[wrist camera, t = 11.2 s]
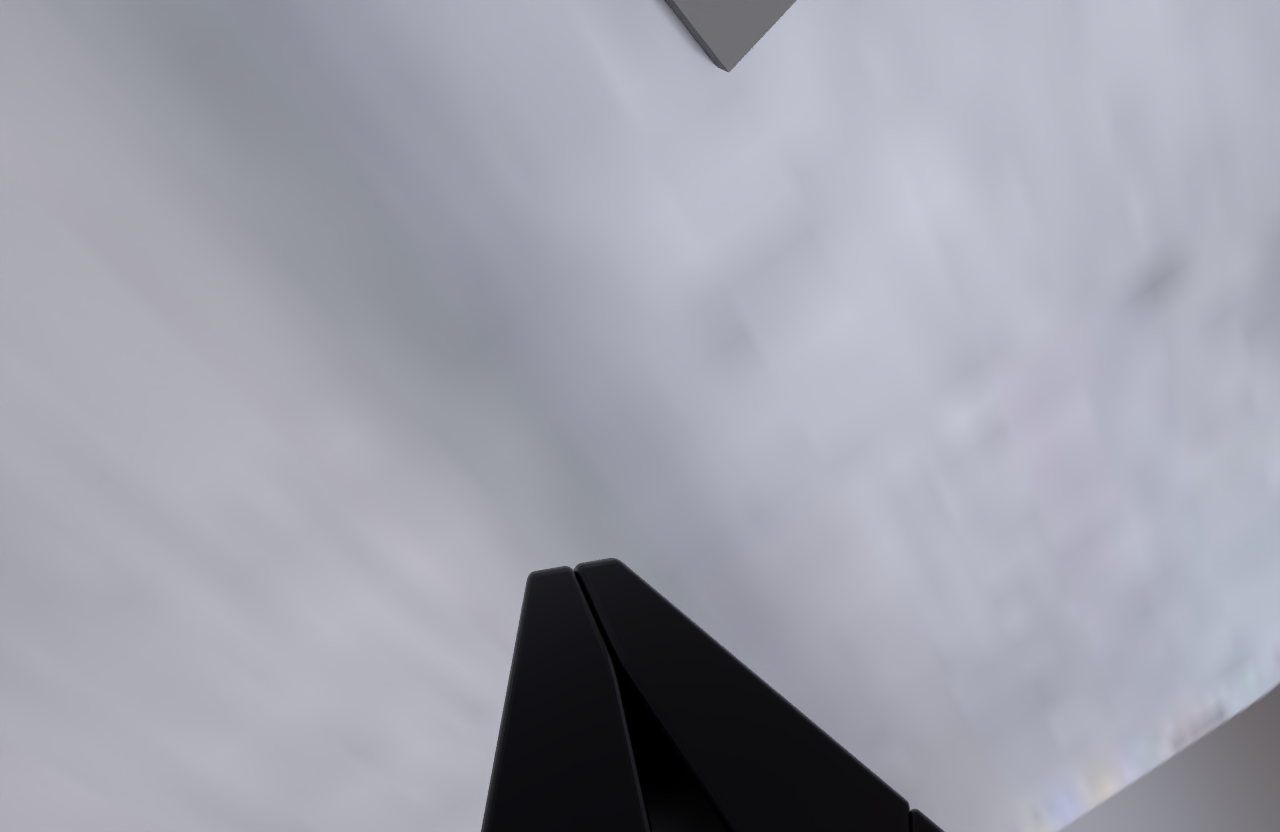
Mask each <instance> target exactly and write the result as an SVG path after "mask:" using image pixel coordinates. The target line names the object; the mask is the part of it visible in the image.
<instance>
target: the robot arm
mask: <svg viewBox="0 0 1280 832" xmlns="http://www.w3.org/2000/svg"><path fill="white" fill-rule="evenodd" d="M481 832H944V831H943V830H942V829H941V828H940V827H938V826H937V825H936V824H935V823H934V822H932V821H931V820H930V819H929V818H928V817H926V816H925V815H924V814H923V813H922V812H920V811H919V810H918V809H912V810H911V811H910V809H909V803H908V801H907V800H906V799H904V798H903V797H902V796H901V795H900V794H898V793H897V792H896V791H895V790H894V789H892V788H891V787H890V786H889V785H888V784H886V783H885V782H884V781H883V780H882V779H881V778H879V777H878V776H877V775H876V774H875V773H873V772H872V771H871V770H870V769H869V768H867V767H866V766H865V765H864V764H863V763H861V762H860V761H859V760H858V759H857V758H855V757H854V756H853V755H852V754H851V753H849V752H848V751H847V750H846V749H845V748H844V747H842V746H841V745H840V744H839V743H838V742H836V741H835V740H834V739H833V738H832V737H830V736H829V735H828V734H827V733H826V732H824V731H823V730H822V729H821V728H820V727H818V726H817V725H816V724H815V723H814V722H812V721H811V720H810V719H809V718H808V717H806V716H805V715H804V714H803V713H802V712H801V711H799V710H798V709H797V708H796V707H795V706H793V705H792V704H791V703H790V702H789V701H787V700H786V699H785V698H784V697H783V696H781V695H780V694H779V693H778V692H777V691H775V690H774V689H773V688H772V687H771V686H769V685H768V684H767V683H766V682H765V681H764V680H762V679H761V678H760V677H759V676H758V675H756V674H755V673H754V672H753V671H752V670H750V669H749V668H748V667H747V666H746V665H744V664H743V663H742V662H741V661H740V660H738V659H737V658H736V657H735V656H734V655H732V654H731V653H730V652H729V651H728V650H727V649H725V648H724V647H723V646H722V645H721V644H719V643H718V642H717V641H716V640H715V639H713V638H712V637H711V636H710V635H709V634H707V633H706V632H705V631H704V630H703V629H701V628H700V627H699V626H698V625H697V624H695V623H694V622H693V621H692V620H691V619H690V618H688V617H687V616H686V615H685V614H684V613H682V612H681V611H680V610H679V609H678V608H676V607H675V606H674V605H673V604H672V603H670V602H669V601H668V600H667V599H666V598H664V597H663V596H662V595H661V594H660V593H658V592H657V591H656V590H655V589H654V588H653V587H651V586H650V585H649V584H648V583H647V582H645V581H644V580H643V579H642V578H641V577H639V576H638V575H637V574H636V573H635V572H633V571H632V570H631V569H630V568H629V567H627V566H626V565H625V564H624V563H623V562H621V561H620V560H618V559H615V558H608V559H602V560H596V561H591V562H585V563H580V564H578V565H577V566H576V567H575V568H574V570H573V569H572V568H570V567H568V566H562V567H556V568H551V569H545V570H539V571H534V572H532V573H530V574H529V576H528V578H527V582H526V588H525V593H524V599H523V604H522V610H521V615H520V620H519V626H518V631H517V637H516V642H515V648H514V653H513V659H512V664H511V670H510V675H509V681H508V686H507V692H506V697H505V703H504V708H503V714H502V719H501V725H500V730H499V736H498V741H497V747H496V752H495V758H494V763H493V769H492V774H491V780H490V785H489V791H488V796H487V802H486V807H485V813H484V818H483V823H482V829H481Z"/></svg>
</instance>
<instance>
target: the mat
mask: <svg viewBox="0 0 1280 832" xmlns="http://www.w3.org/2000/svg"><path fill="white" fill-rule="evenodd" d="M665 1H666V2H667V3H668V4H669V6H670V7H671V8H672V10H673V11H674V12H675V13H676V15H677V16H678V17H679V18H680V20H681V21H682V22H683V24H684V25H685V26H686V27H687V29H688V30H689V31H690V32H691V34H692V35H693V36H694V38H695V39H696V40H697V41H698V43H699V44H700V45H701V47H702V48H703V49H704V50H705V52H706V53H707V54H708V55H709V57H710V58H711V59H712V61H713V62H714V63H715V64H716V66H717V67H718V68H721V69H723V70H725V71H727V72H730V71H731V70H732V69H733V68H734V67H735V66H736V64H737V63H738V62H739V61H740V60H741V59H742V58H743V57H744V56H745V55H746V54H747V53H748V52H749V51H750V49H751V48H752V47H753V46H754V45H755V44H756V43H757V42H758V41H759V40H760V39H761V38H762V37H763V36H764V35H765V33H766V32H767V31H768V30H769V29H770V28H771V27H772V26H773V25H774V24H775V23H776V22H777V21H778V20H779V18H780V17H781V16H782V15H783V14H784V13H785V12H786V11H787V10H788V9H789V8H790V7H791V6H792V5H793V4H794V2H795V1H796V0H665Z"/></svg>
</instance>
